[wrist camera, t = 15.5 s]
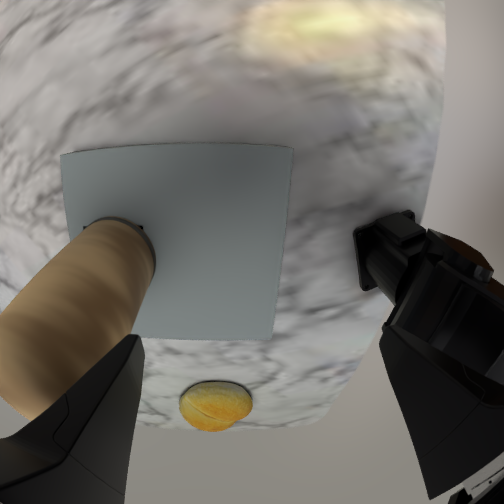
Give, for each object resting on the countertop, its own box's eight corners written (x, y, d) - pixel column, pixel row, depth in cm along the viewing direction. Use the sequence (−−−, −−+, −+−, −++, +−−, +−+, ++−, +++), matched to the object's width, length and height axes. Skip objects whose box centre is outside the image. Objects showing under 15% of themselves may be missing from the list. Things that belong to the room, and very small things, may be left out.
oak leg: (174, 267, 21) (133, 444, 8) (112, 290, 22) (46, 436, 8) (139, 195, 19) (13, 328, 5) (77, 226, 19) (-40, 349, 5)
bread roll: (263, 391, 30) (267, 417, 27) (221, 419, 33) (222, 443, 29) (206, 368, 27) (206, 396, 24) (169, 400, 30) (166, 426, 26)
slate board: (286, 146, 18) (293, 148, 17) (268, 325, 25) (271, 339, 23) (73, 152, 16) (60, 155, 15) (101, 319, 23) (95, 332, 21)
